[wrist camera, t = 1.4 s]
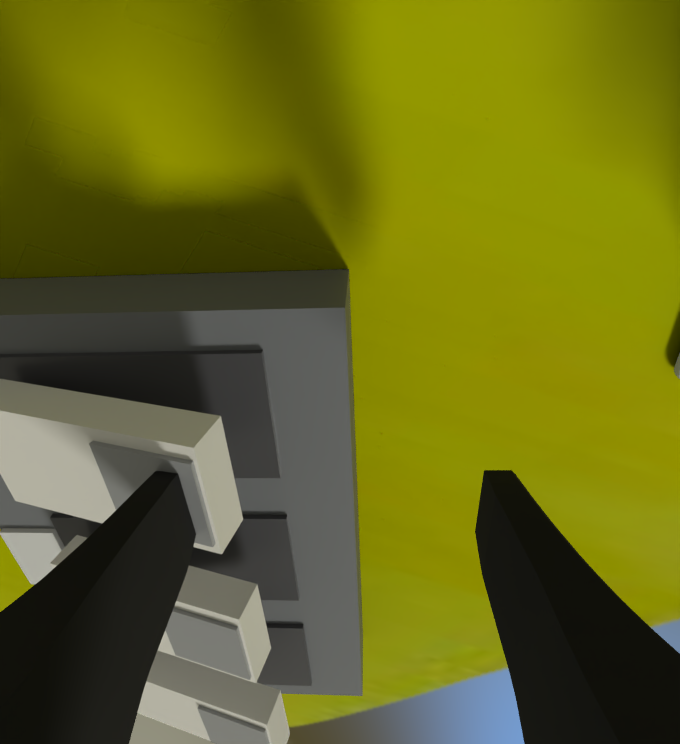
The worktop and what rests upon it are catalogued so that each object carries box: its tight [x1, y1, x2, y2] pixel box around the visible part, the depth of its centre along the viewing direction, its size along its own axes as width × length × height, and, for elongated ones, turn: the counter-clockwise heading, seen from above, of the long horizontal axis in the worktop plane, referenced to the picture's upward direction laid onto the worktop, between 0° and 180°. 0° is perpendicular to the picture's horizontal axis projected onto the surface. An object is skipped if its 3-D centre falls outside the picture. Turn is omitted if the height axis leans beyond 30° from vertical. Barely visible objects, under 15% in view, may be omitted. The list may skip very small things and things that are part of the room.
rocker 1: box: [0, 379, 243, 554], centre depth 13 cm, size 7×4×1 cm, turn 93°
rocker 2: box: [137, 650, 290, 744], centre depth 20 cm, size 7×4×1 cm, turn 93°
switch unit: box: [0, 269, 363, 696], centre depth 19 cm, size 13×20×3 cm, turn 3°
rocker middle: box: [50, 535, 271, 683], centre depth 17 cm, size 7×4×1 cm, turn 93°
